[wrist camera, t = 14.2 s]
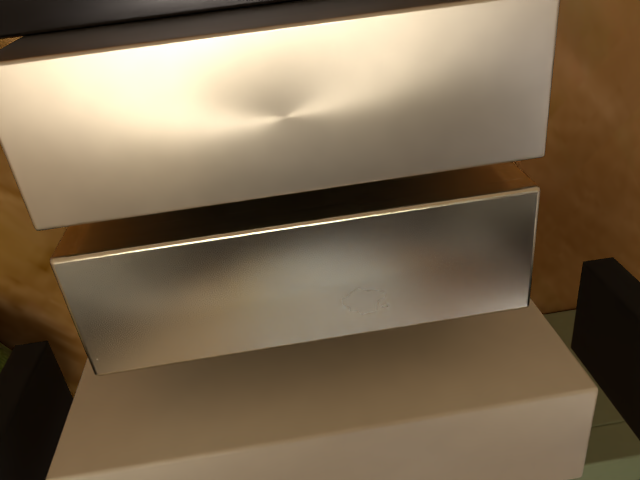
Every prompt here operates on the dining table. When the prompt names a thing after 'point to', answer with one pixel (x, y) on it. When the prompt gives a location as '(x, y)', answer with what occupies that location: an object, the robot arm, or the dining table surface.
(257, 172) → the book rack
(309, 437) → the white book
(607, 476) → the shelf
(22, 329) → the dining table surface
